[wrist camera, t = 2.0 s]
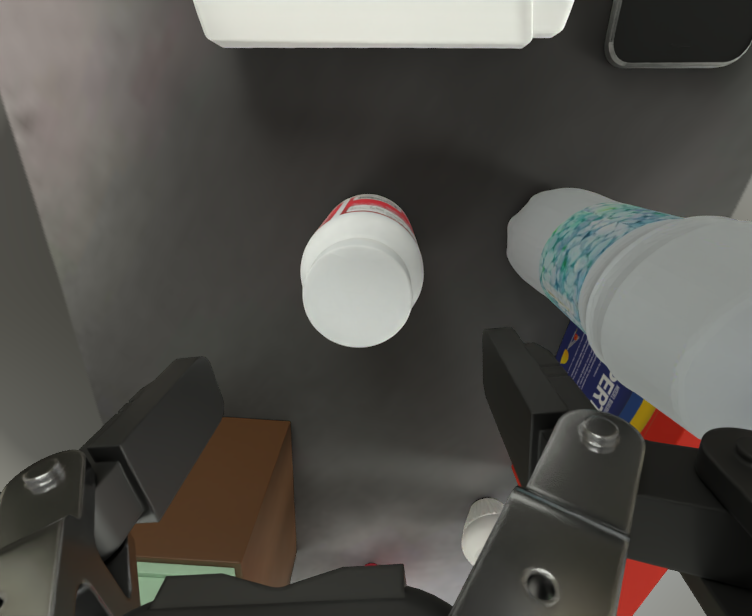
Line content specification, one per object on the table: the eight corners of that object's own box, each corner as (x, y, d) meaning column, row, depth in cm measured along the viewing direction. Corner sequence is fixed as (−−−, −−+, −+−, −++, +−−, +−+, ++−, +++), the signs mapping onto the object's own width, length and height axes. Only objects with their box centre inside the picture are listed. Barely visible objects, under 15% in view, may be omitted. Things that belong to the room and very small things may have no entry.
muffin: (466, 481, 35) (484, 557, 28) (528, 492, 35) (559, 570, 29) (447, 524, 37) (459, 603, 31) (504, 534, 37) (529, 614, 31)
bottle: (514, 294, 27) (789, 615, 9) (480, 212, 24) (757, 410, 6) (607, 252, 25) (1179, 529, 7) (580, 160, 23) (1328, 220, 5)
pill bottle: (346, 292, 27) (322, 380, 17) (309, 214, 25) (256, 261, 15) (425, 262, 26) (450, 336, 16) (394, 177, 24) (400, 201, 14)
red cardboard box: (553, 472, 34) (629, 621, 23) (510, 466, 34) (568, 614, 23) (637, 293, 26) (803, 391, 16) (583, 285, 26) (716, 379, 16)
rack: (177, 413, 32) (-10, 652, 17) (290, 420, 32) (204, 666, 17) (204, 545, 40) (91, 795, 24) (296, 551, 39) (240, 805, 24)
